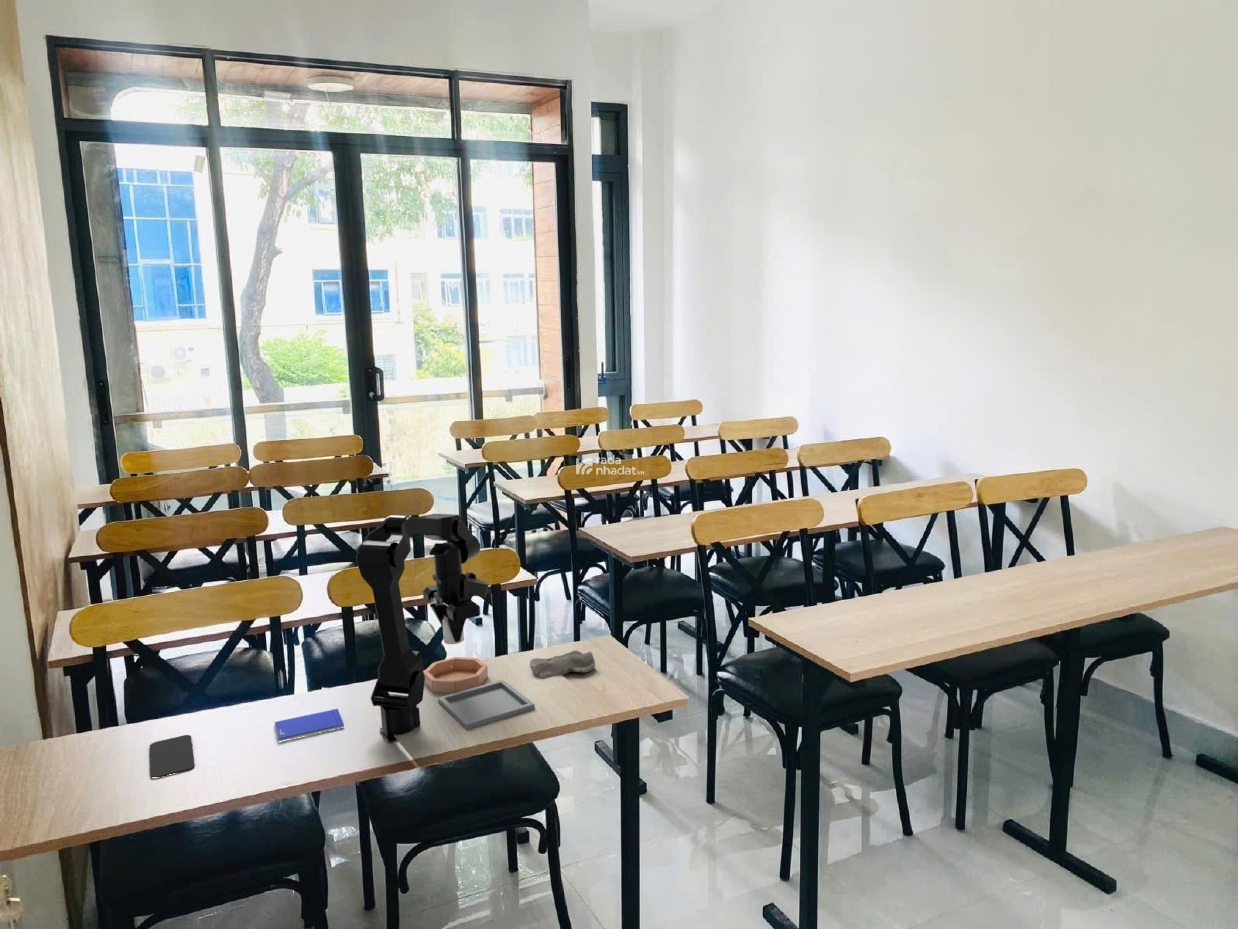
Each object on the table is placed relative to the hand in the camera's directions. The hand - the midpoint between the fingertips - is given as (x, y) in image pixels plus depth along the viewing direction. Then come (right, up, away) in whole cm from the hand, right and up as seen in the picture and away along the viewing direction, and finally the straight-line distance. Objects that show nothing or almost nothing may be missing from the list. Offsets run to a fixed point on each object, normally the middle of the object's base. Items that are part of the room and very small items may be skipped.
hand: (453, 638), depth 193 cm
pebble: (0, 0, 0) cm, 1 cm away
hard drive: (-26, -15, -16) cm, 34 cm away
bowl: (0, -11, +2) cm, 11 cm away
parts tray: (+9, -13, -11) cm, 19 cm away
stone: (+24, -9, +7) cm, 26 cm away
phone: (-49, -18, -26) cm, 58 cm away
